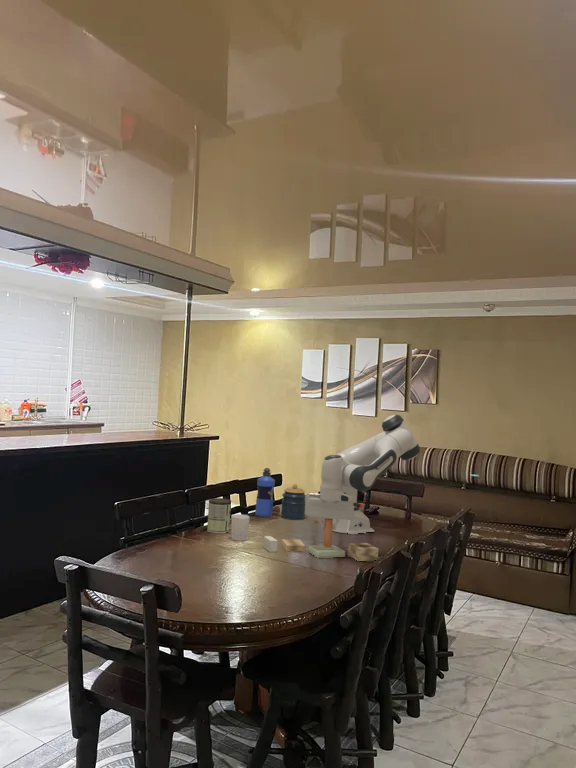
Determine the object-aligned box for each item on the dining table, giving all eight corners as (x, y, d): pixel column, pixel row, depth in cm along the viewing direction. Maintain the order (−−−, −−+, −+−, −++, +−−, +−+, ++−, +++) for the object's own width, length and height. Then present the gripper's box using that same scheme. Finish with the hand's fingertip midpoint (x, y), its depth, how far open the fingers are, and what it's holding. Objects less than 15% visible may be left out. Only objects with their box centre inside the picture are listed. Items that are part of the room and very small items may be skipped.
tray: (333, 551, 243) (333, 545, 244) (344, 557, 234) (345, 551, 234) (307, 552, 239) (308, 545, 239) (318, 558, 230) (318, 552, 230)
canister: (282, 514, 316) (284, 481, 317) (306, 516, 315) (308, 483, 315) (278, 518, 304) (281, 484, 304) (303, 521, 302) (305, 487, 302)
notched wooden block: (299, 546, 249) (299, 539, 249) (305, 553, 239) (305, 545, 239) (281, 546, 247) (281, 539, 247) (286, 552, 237) (286, 545, 237)
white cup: (251, 539, 254) (252, 516, 255) (242, 542, 247) (244, 518, 248) (235, 536, 258) (237, 513, 258) (226, 539, 251) (228, 516, 251)
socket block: (366, 554, 241) (367, 542, 241) (377, 561, 233) (378, 548, 233) (347, 555, 238) (348, 543, 238) (358, 561, 229) (359, 549, 229)
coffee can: (204, 528, 269) (207, 497, 269) (226, 528, 272) (228, 498, 272) (208, 533, 259) (211, 502, 259) (231, 533, 262) (233, 502, 263)
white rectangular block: (269, 546, 243) (270, 536, 243) (276, 551, 236) (277, 540, 236) (263, 546, 242) (263, 536, 242) (269, 552, 235) (270, 540, 235)
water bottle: (274, 514, 313) (277, 468, 314) (269, 517, 304) (272, 469, 305) (258, 512, 316) (261, 466, 317) (252, 515, 307) (256, 468, 308)
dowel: (330, 545, 238) (332, 518, 239) (331, 547, 235) (333, 520, 236) (322, 545, 238) (324, 518, 238) (324, 547, 235) (325, 519, 235)
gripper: (304, 493, 236) (302, 527, 235) (355, 498, 233) (352, 532, 232) (306, 491, 242) (304, 524, 241) (355, 495, 239) (353, 529, 239)
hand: (328, 528), depth 237 cm, fingers closed on dowel, 3 cm apart
